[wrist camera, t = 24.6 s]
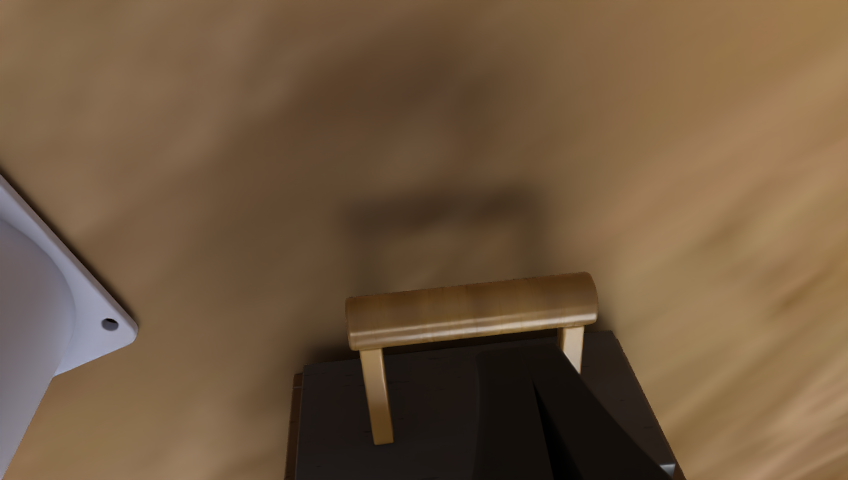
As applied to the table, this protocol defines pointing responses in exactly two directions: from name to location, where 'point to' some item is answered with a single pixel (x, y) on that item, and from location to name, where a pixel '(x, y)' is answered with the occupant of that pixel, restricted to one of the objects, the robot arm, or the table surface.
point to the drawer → (449, 378)
